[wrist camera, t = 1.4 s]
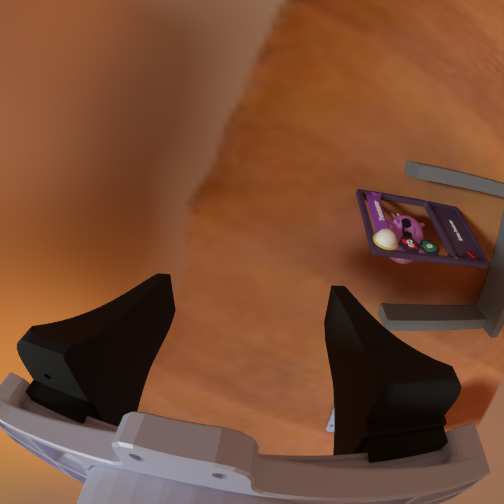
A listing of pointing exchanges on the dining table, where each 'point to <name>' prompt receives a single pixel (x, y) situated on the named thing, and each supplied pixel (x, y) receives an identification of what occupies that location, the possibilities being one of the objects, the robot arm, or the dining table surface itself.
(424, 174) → the frame
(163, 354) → the dining table surface
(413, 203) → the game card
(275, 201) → the dining table surface
